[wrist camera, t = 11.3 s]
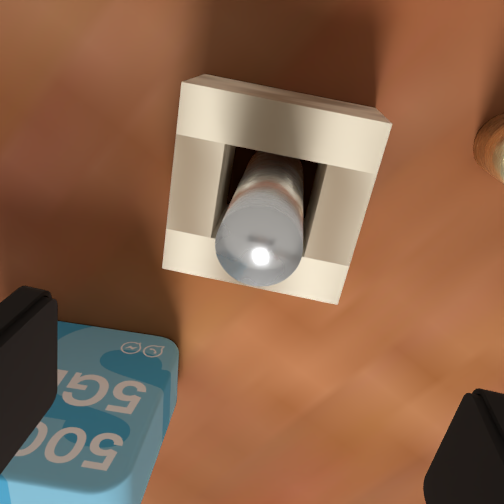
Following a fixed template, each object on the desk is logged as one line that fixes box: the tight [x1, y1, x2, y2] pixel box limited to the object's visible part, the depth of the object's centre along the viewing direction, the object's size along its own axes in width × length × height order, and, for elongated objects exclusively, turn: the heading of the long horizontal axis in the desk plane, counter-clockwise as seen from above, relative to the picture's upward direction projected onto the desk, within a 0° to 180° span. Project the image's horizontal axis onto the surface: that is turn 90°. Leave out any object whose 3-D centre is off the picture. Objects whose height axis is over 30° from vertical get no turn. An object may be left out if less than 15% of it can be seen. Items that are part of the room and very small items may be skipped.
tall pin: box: [215, 151, 304, 287], centre depth 21 cm, size 3×3×10 cm
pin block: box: [162, 74, 392, 305], centre depth 24 cm, size 9×9×5 cm
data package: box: [0, 321, 179, 504], centre depth 27 cm, size 12×4×12 cm, turn 84°
